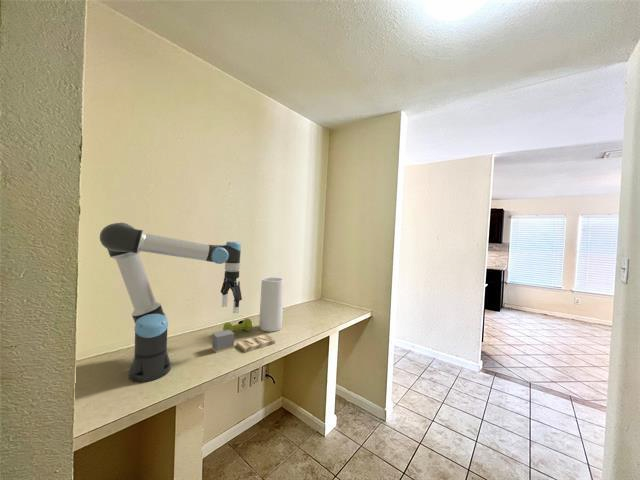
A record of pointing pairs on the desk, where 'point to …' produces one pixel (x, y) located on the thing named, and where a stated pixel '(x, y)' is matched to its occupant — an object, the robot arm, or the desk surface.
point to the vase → (271, 304)
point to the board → (255, 343)
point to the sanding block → (223, 341)
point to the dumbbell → (239, 326)
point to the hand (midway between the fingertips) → (229, 309)
